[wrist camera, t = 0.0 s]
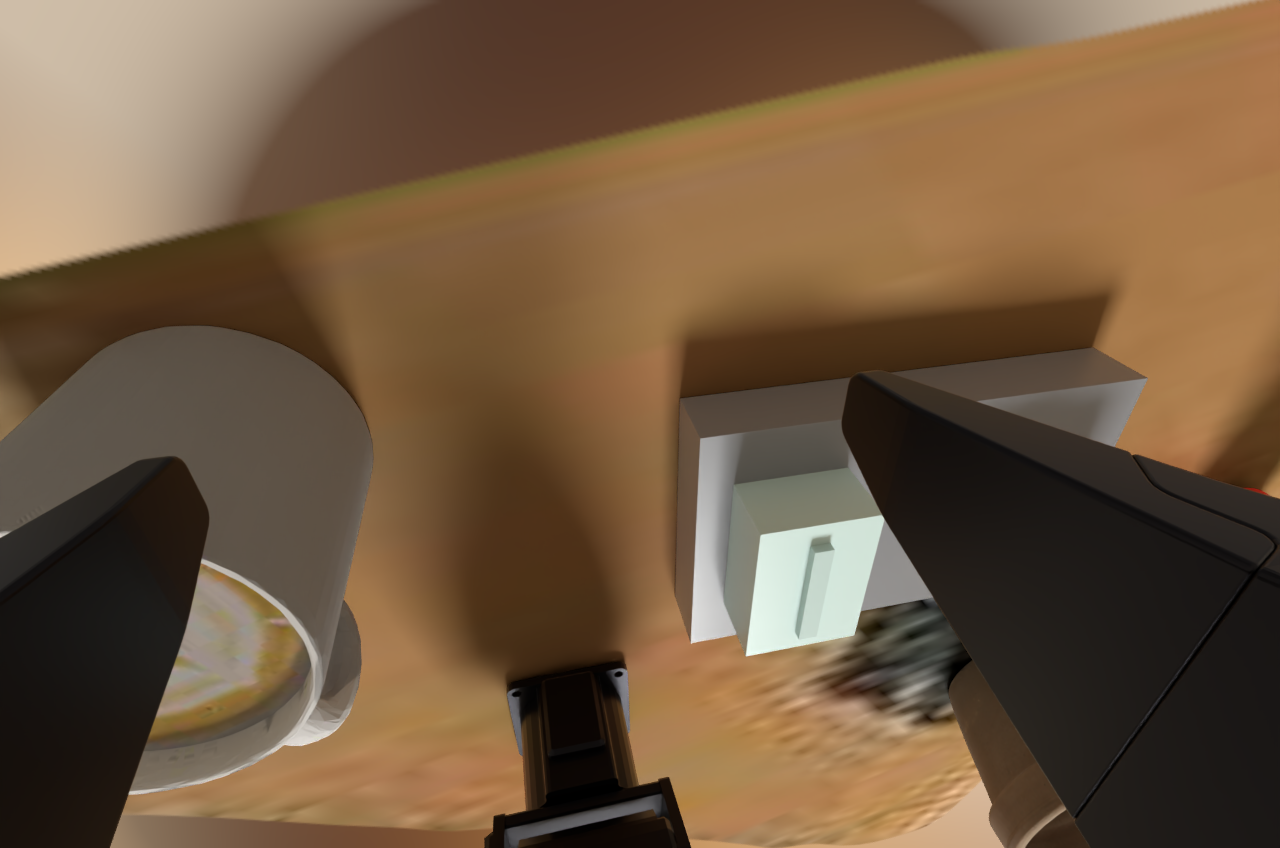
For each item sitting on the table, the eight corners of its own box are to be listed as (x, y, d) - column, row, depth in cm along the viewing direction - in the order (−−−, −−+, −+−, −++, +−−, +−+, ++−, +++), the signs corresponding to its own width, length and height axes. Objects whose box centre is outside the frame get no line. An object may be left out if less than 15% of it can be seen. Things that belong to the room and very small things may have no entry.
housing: (1014, 536, 37) (1055, 577, 34) (675, 595, 33) (691, 646, 31) (1093, 347, 30) (1151, 380, 27) (679, 398, 27) (701, 441, 24)
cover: (823, 584, 31) (858, 642, 28) (723, 602, 30) (749, 664, 27) (848, 467, 27) (891, 521, 24) (733, 484, 26) (764, 542, 23)
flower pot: (1100, 630, 45) (1241, 772, 36) (991, 728, 49) (1093, 874, 41) (993, 602, 40) (1127, 758, 32) (883, 714, 45) (975, 875, 36)
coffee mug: (-10, 365, 20) (-334, 605, 12) (304, 294, 21) (197, 476, 13) (213, 627, 28) (104, 883, 20) (438, 567, 29) (422, 790, 21)
